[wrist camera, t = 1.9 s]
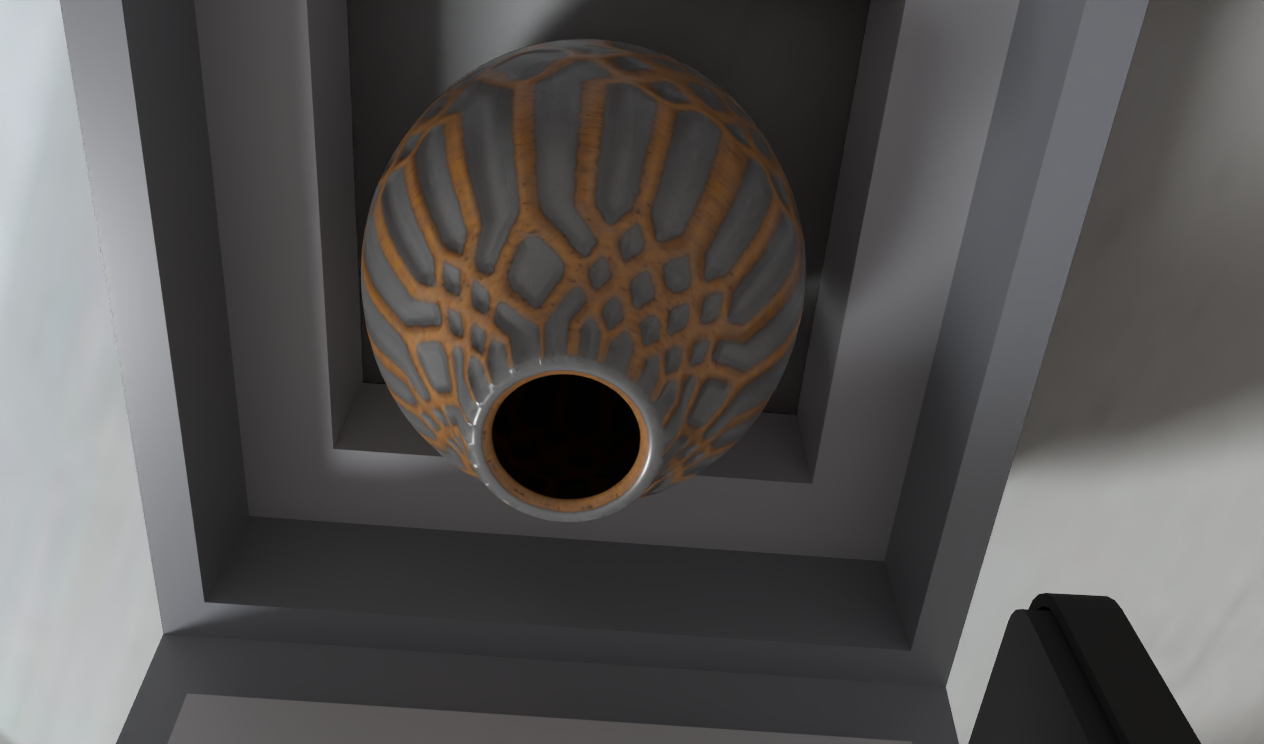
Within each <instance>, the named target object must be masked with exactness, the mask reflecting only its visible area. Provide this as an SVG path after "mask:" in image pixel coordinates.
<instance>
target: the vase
mask: <svg viewBox="0 0 1264 744" xmlns="http://www.w3.org/2000/svg"><path fill="white" fill-rule="evenodd" d="M805 284H806V256H805V244H804V238H803V232H802V226H801V222H800V217H799V213H798V209H797V206H796V202H795V199H794V196H793V193H792V190H791V187H790V185H789V183H788V180H787V178H786V176H785V173H784V171H783V169H782V167H781V164H780V162H779V160H778V158H777V156H776V155H775V153H774V151H773V149H772V147H771V146H770V144H769V143H768V141H767V140H766V138H765V137H764V135H763V134H762V132H761V131H760V129H759V128H758V126H757V125H756V124H755V122H754V121H753V120H752V119H751V117H750V116H749V115H748V114H747V112H746V111H745V110H744V109H743V108H742V107H741V106H740V105H739V104H738V103H737V102H736V100H735V99H733V98H732V97H731V96H730V95H729V94H728V93H727V92H726V91H724V90H723V89H722V88H721V87H720V86H718V85H717V84H716V83H715V82H713V81H712V80H710V79H709V78H707V77H706V76H704V75H703V74H701V73H700V72H698V71H697V70H695V69H694V68H692V67H690V66H688V65H686V64H684V63H683V62H681V61H679V60H676V59H674V58H672V57H670V56H667V55H665V54H662V53H660V52H657V51H654V50H651V49H648V48H645V47H641V46H637V45H633V44H629V43H624V42H618V41H611V40H601V39H571V40H559V41H552V42H545V43H540V44H536V45H532V46H527V47H524V48H521V49H518V50H515V51H512V52H509V53H507V54H504V55H502V56H499V57H497V58H495V59H493V60H491V61H489V62H487V63H485V64H483V65H481V66H479V67H478V68H476V69H475V70H473V71H471V72H470V73H468V74H466V75H465V76H464V77H462V78H461V79H460V80H458V81H457V82H456V83H454V84H453V85H452V86H451V87H450V88H448V89H447V90H446V91H445V92H444V93H443V94H442V95H441V96H439V97H438V98H437V99H436V100H435V101H434V102H433V103H432V104H431V105H430V106H429V107H428V108H427V109H426V110H425V111H424V112H423V113H422V114H421V116H420V117H419V118H418V119H417V121H416V122H415V123H414V124H413V126H412V127H411V128H410V130H409V131H408V132H407V133H406V135H405V136H404V138H403V139H402V141H401V142H400V144H399V145H398V147H397V148H396V150H395V151H394V153H393V155H392V157H391V159H390V161H389V162H388V164H387V166H386V168H385V170H384V172H383V174H382V177H381V179H380V181H379V183H378V186H377V188H376V190H375V193H374V196H373V199H372V202H371V205H370V209H369V214H368V218H367V222H366V227H365V232H364V239H363V246H362V257H361V291H362V301H363V309H364V316H365V322H366V327H367V332H368V336H369V339H370V343H371V346H372V350H373V353H374V356H375V359H376V362H377V365H378V367H379V370H380V372H381V375H382V377H383V379H384V381H385V383H386V385H387V387H388V389H389V391H390V392H391V394H392V396H393V398H394V399H395V401H396V403H397V405H398V406H399V408H400V409H401V411H402V412H403V414H404V415H405V417H406V418H407V419H408V421H409V422H410V423H411V424H412V425H413V427H414V428H415V429H416V430H417V431H418V432H419V434H420V435H421V436H422V437H423V438H424V439H425V440H426V441H427V442H428V443H429V444H430V445H431V446H432V447H433V448H434V449H435V450H437V451H438V452H439V453H440V454H441V455H442V456H443V457H445V458H446V459H447V460H448V461H450V462H451V463H452V464H453V465H455V466H456V467H458V468H459V469H461V470H462V471H464V472H465V473H467V474H469V475H470V476H472V477H474V478H475V479H477V480H479V481H481V482H483V483H484V484H485V485H486V486H487V487H488V489H489V490H490V491H491V492H492V493H494V494H495V495H496V496H497V497H498V498H499V499H501V500H502V501H503V502H505V503H506V504H508V505H509V506H511V507H513V508H515V509H517V510H519V511H521V512H523V513H525V514H528V515H531V516H534V517H537V518H541V519H545V520H550V521H558V522H581V521H588V520H594V519H598V518H601V517H605V516H608V515H610V514H613V513H615V512H617V511H619V510H621V509H623V508H625V507H626V506H628V505H629V504H631V503H632V502H634V501H635V500H637V499H641V498H644V497H648V496H651V495H654V494H657V493H659V492H662V491H664V490H667V489H669V488H671V487H673V486H676V485H678V484H680V483H682V482H684V481H685V480H687V479H689V478H691V477H692V476H694V475H696V474H697V473H699V472H700V471H702V470H703V469H705V468H706V467H708V466H709V465H711V464H712V463H714V462H715V461H716V460H717V459H719V458H720V457H721V456H723V455H724V454H725V453H726V452H727V451H728V450H729V449H730V448H731V447H733V446H734V445H735V443H736V442H737V441H738V440H739V439H740V438H741V437H742V436H743V435H744V434H745V433H746V432H747V430H748V429H749V428H750V427H751V426H752V424H753V423H754V422H755V421H756V419H757V418H758V417H759V415H760V414H761V412H762V411H763V409H764V408H765V407H766V405H767V403H768V401H769V400H770V398H771V396H772V394H773V393H774V391H775V389H776V387H777V386H778V384H779V382H780V380H781V378H782V375H783V373H784V371H785V369H786V366H787V364H788V361H789V358H790V356H791V353H792V350H793V347H794V345H795V341H796V337H797V334H798V330H799V326H800V321H801V317H802V311H803V306H804V297H805Z"/></svg>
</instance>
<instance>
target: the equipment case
mask: <svg viewBox="0 0 1264 744" xmlns="http://www.w3.org/2000/svg"><path fill="white" fill-rule="evenodd" d="M1148 3H1149V0H871V1H870V7H869V12H868V18H867V24H866V29H865V35H864V40H863V46H862V52H861V57H860V63H859V68H858V74H857V79H856V85H855V91H854V96H853V102H852V107H851V113H850V119H849V124H848V130H847V135H846V141H845V147H844V152H843V158H842V163H841V169H840V175H839V180H838V186H837V191H836V197H835V203H834V208H833V214H832V219H831V225H830V230H829V236H828V242H827V247H826V253H825V258H824V264H823V270H822V275H821V281H820V286H819V292H818V298H817V303H816V309H815V314H814V320H813V326H812V331H811V337H810V342H809V348H808V354H807V359H806V365H805V370H804V376H803V381H802V387H801V393H800V398H799V404H798V409H797V415H788V414H775V413H762V412H761V414H760V415H759V417H758V418H757V419H756V421H755V422H754V423H753V424H752V426H751V427H750V428H749V429H748V430H747V432H746V433H745V434H744V435H743V436H742V437H741V438H740V439H739V440H738V441H737V442H736V443H735V445H734V446H733V447H731V448H730V449H729V450H728V451H727V452H726V453H725V454H724V455H723V456H721V457H720V458H719V459H717V460H716V461H715V462H714V463H712V464H711V465H709V466H708V467H706V468H705V469H703V470H702V471H700V472H699V473H697V474H696V475H694V476H692V477H691V478H689V479H687V480H685V481H684V482H682V483H680V484H678V485H676V486H673V487H671V488H669V489H667V490H664V491H662V492H659V493H657V494H654V495H651V496H648V497H644V498H641V499H637V500H635V501H634V502H632V503H631V504H629V505H628V506H626V507H625V508H623V509H621V510H619V511H617V512H615V513H613V514H610V515H608V516H605V517H601V518H598V519H594V520H588V521H581V522H558V521H550V520H545V519H541V518H537V517H534V516H531V515H528V514H525V513H523V512H521V511H519V510H517V509H515V508H513V507H511V506H509V505H508V504H506V503H505V502H503V501H502V500H501V499H499V498H498V497H497V496H496V495H495V494H494V493H492V492H491V491H490V490H489V489H488V487H487V486H486V485H485V484H484V483H483V482H481V481H479V480H477V479H475V478H474V477H472V476H470V475H469V474H467V473H465V472H464V471H462V470H461V469H459V468H458V467H456V466H455V465H453V464H452V463H451V462H450V461H448V460H447V459H446V458H445V457H443V456H442V455H441V454H440V453H439V452H438V451H437V450H435V449H434V448H433V447H432V446H431V445H430V444H429V443H428V442H427V441H426V440H425V439H424V438H423V437H422V436H421V435H420V434H419V432H418V431H417V430H416V429H415V428H414V427H413V425H412V424H411V423H410V422H409V421H408V419H407V418H406V417H405V415H404V414H403V412H402V411H401V409H400V408H399V406H398V405H397V403H396V401H395V399H394V398H393V396H392V394H391V392H390V391H389V389H388V387H387V385H386V384H375V383H363V370H362V347H361V323H360V300H359V276H358V253H357V229H356V205H355V182H354V158H353V135H352V111H351V88H350V64H349V41H348V17H347V0H60V5H61V11H62V17H63V23H64V29H65V35H66V41H67V48H68V54H69V60H70V66H71V72H72V78H73V84H74V90H75V96H76V103H77V109H78V115H79V121H80V127H81V133H82V139H83V145H84V151H85V158H86V164H87V170H88V176H89V182H90V188H91V194H92V200H93V206H94V212H95V219H96V225H97V231H98V237H99V243H100V249H101V255H102V261H103V267H104V274H105V280H106V286H107V292H108V298H109V304H110V310H111V316H112V322H113V329H114V335H115V341H116V347H117V353H118V359H119V365H120V371H121V377H122V383H123V390H124V396H125V402H126V408H127V414H128V420H129V426H130V432H131V438H132V445H133V451H134V457H135V463H136V469H137V475H138V481H139V487H140V493H141V500H142V506H143V512H144V518H145V524H146V530H147V536H148V542H149V548H150V554H151V561H152V567H153V573H154V579H155V585H156V591H157V597H158V603H159V609H160V616H161V622H162V628H163V634H170V635H185V636H200V637H215V638H229V639H244V640H259V641H274V642H288V643H303V644H318V645H333V646H347V647H362V648H377V649H392V650H406V651H421V652H436V653H451V654H465V655H480V656H495V657H510V658H524V659H539V660H554V661H569V662H584V663H598V664H613V665H628V666H643V667H657V668H672V669H687V670H702V671H716V672H731V673H746V674H761V675H775V676H790V677H805V678H820V679H834V680H849V681H864V682H879V683H893V684H908V685H923V686H938V687H946V684H947V681H948V677H949V674H950V671H951V667H952V664H953V661H954V657H955V654H956V650H957V647H958V644H959V640H960V637H961V634H962V630H963V627H964V624H965V620H966V617H967V613H968V610H969V607H970V603H971V600H972V597H973V593H974V590H975V586H976V583H977V580H978V576H979V573H980V570H981V566H982V563H983V559H984V556H985V553H986V549H987V546H988V543H989V539H990V536H991V532H992V529H993V526H994V522H995V519H996V516H997V512H998V509H999V505H1000V502H1001V499H1002V495H1003V492H1004V489H1005V485H1006V482H1007V478H1008V475H1009V472H1010V468H1011V465H1012V462H1013V458H1014V455H1015V452H1016V448H1017V445H1018V441H1019V438H1020V435H1021V431H1022V428H1023V425H1024V421H1025V418H1026V414H1027V411H1028V408H1029V404H1030V401H1031V398H1032V394H1033V391H1034V387H1035V384H1036V381H1037V377H1038V374H1039V371H1040V367H1041V364H1042V360H1043V357H1044V354H1045V350H1046V347H1047V344H1048V340H1049V337H1050V333H1051V330H1052V327H1053V323H1054V320H1055V317H1056V313H1057V310H1058V306H1059V303H1060V300H1061V296H1062V293H1063V290H1064V286H1065V283H1066V280H1067V276H1068V273H1069V269H1070V266H1071V263H1072V259H1073V256H1074V253H1075V249H1076V246H1077V242H1078V239H1079V236H1080V232H1081V229H1082V226H1083V222H1084V219H1085V215H1086V212H1087V209H1088V205H1089V202H1090V199H1091V195H1092V192H1093V188H1094V185H1095V182H1096V178H1097V175H1098V172H1099V168H1100V165H1101V161H1102V158H1103V155H1104V151H1105V148H1106V145H1107V141H1108V138H1109V134H1110V131H1111V128H1112V124H1113V121H1114V118H1115V114H1116V111H1117V108H1118V104H1119V101H1120V97H1121V94H1122V91H1123V87H1124V84H1125V81H1126V77H1127V74H1128V70H1129V67H1130V64H1131V60H1132V57H1133V54H1134V50H1135V47H1136V43H1137V40H1138V37H1139V33H1140V30H1141V27H1142V23H1143V20H1144V16H1145V13H1146V10H1147V6H1148Z"/></svg>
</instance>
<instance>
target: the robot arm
mask: <svg viewBox="0 0 1264 744" xmlns="http://www.w3.org/2000/svg"><path fill="white" fill-rule="evenodd" d="M969 744H1201V743H1200V741H1199V739H1198V738H1197V736H1196V734H1195V733H1194V731H1193V729H1192V727H1191V726H1190V724H1189V722H1188V721H1187V719H1186V717H1185V716H1184V714H1183V712H1182V711H1181V709H1180V707H1179V705H1178V704H1177V702H1176V700H1175V699H1174V697H1173V695H1172V694H1171V692H1170V690H1169V688H1168V687H1167V685H1166V683H1165V682H1164V680H1163V678H1162V677H1161V675H1160V673H1159V671H1158V670H1157V668H1156V666H1155V665H1154V663H1153V661H1152V660H1151V658H1150V656H1149V655H1148V653H1147V651H1146V649H1145V648H1144V646H1143V644H1142V643H1141V641H1140V639H1139V638H1138V636H1137V634H1136V632H1135V631H1134V629H1133V627H1132V626H1131V624H1130V622H1129V621H1128V619H1127V617H1126V616H1125V614H1124V612H1123V610H1122V609H1121V608H1120V606H1119V605H1118V604H1117V603H1116V601H1115V600H1113V599H1111V598H1109V597H1107V596H1091V595H1071V594H1052V593H1043V594H1039V595H1038V596H1037V597H1036V598H1035V599H1034V600H1033V601H1032V603H1031V605H1030V607H1029V609H1028V610H1024V609H1019V610H1015V611H1014V612H1013V614H1012V615H1011V617H1010V619H1009V621H1008V624H1007V627H1006V630H1005V633H1004V636H1003V639H1002V643H1001V646H1000V649H999V652H998V655H997V658H996V661H995V664H994V667H993V670H992V673H991V676H990V679H989V682H988V685H987V688H986V691H985V695H984V698H983V701H982V704H981V707H980V710H979V713H978V716H977V719H976V722H975V725H974V728H973V731H972V734H971V737H970V740H969Z"/></svg>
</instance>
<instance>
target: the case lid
mask: <svg viewBox="0 0 1264 744" xmlns="http://www.w3.org/2000/svg"><path fill="white" fill-rule="evenodd" d="M116 744H959V743H958V739H957V734H956V730H955V726H954V721H953V717H952V712H951V708H950V704H949V699H948V695H947V691H946V687H938V686H923V685H908V684H893V683H879V682H864V681H849V680H834V679H820V678H805V677H790V676H775V675H761V674H746V673H731V672H716V671H702V670H687V669H672V668H657V667H643V666H628V665H613V664H598V663H584V662H569V661H554V660H539V659H524V658H510V657H495V656H480V655H465V654H451V653H436V652H421V651H406V650H392V649H377V648H362V647H347V646H333V645H318V644H303V643H288V642H274V641H259V640H244V639H229V638H215V637H200V636H185V635H170V634H163V636H162V639H161V641H160V643H159V646H158V648H157V650H156V653H155V655H154V657H153V660H152V662H151V664H150V666H149V669H148V671H147V673H146V676H145V678H144V680H143V683H142V685H141V687H140V690H139V692H138V694H137V696H136V699H135V701H134V703H133V706H132V708H131V710H130V713H129V715H128V717H127V720H126V722H125V724H124V726H123V729H122V731H121V733H120V736H119V738H118V740H117V743H116Z"/></svg>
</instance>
